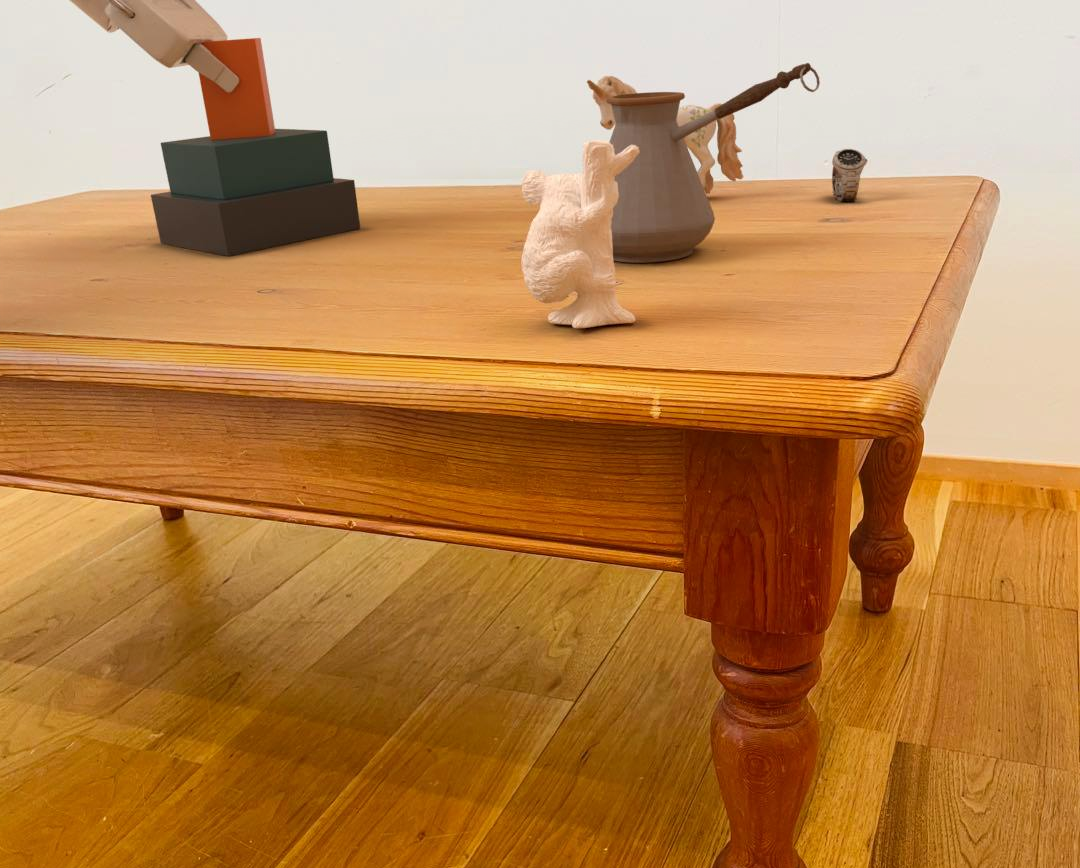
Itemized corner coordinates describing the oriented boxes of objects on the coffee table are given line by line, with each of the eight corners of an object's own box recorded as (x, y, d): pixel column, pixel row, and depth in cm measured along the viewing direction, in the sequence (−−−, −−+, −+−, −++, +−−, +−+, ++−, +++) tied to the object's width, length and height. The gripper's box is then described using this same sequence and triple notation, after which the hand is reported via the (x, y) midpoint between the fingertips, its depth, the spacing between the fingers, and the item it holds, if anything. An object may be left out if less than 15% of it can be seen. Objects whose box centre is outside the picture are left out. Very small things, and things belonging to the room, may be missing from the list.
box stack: (228, 256, 105) (208, 148, 101) (160, 243, 114) (139, 144, 110) (360, 228, 115) (347, 129, 111) (288, 218, 124) (273, 126, 120)
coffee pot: (555, 260, 94) (545, 73, 87) (637, 236, 101) (634, 62, 95) (765, 287, 80) (772, 68, 74) (843, 258, 88) (855, 57, 81)
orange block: (210, 140, 109) (192, 42, 105) (217, 137, 112) (200, 41, 108) (270, 136, 109) (254, 38, 105) (275, 132, 112) (260, 37, 108)
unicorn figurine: (560, 212, 116) (553, 78, 110) (710, 190, 124) (711, 63, 118) (593, 221, 110) (587, 79, 105) (748, 197, 118) (751, 64, 112)
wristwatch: (834, 204, 110) (837, 153, 108) (822, 195, 116) (824, 146, 114) (868, 202, 110) (872, 151, 108) (855, 193, 116) (858, 144, 114)
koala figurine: (663, 318, 74) (660, 133, 69) (610, 343, 69) (603, 146, 64) (562, 306, 79) (553, 132, 74) (507, 329, 74) (492, 145, 69)
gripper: (106, -52, 93) (240, 63, 98) (164, -40, 112) (274, 57, 116) (67, 8, 95) (201, 119, 100) (130, 11, 114) (240, 104, 118)
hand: (240, 85), depth 108 cm, fingers closed on orange block, 3 cm apart
